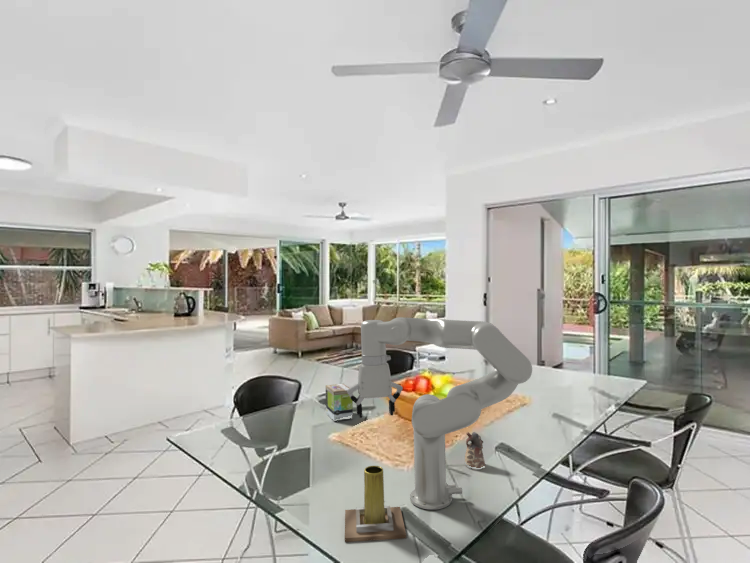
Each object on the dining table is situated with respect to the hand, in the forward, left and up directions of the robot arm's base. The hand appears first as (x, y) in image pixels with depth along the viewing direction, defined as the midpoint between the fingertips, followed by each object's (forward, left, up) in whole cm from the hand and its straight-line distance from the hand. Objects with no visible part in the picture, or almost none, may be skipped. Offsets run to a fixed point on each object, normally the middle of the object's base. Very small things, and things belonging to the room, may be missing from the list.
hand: (375, 415), depth 136 cm
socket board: (+2, +15, -26) cm, 30 cm away
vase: (+2, +15, -25) cm, 29 cm away
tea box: (+14, -83, -26) cm, 88 cm away
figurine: (-36, -19, -26) cm, 48 cm away
